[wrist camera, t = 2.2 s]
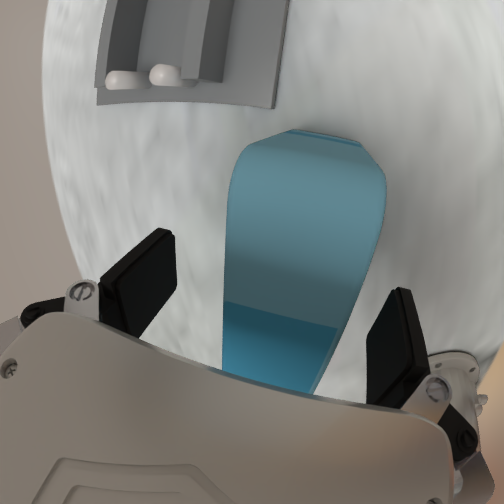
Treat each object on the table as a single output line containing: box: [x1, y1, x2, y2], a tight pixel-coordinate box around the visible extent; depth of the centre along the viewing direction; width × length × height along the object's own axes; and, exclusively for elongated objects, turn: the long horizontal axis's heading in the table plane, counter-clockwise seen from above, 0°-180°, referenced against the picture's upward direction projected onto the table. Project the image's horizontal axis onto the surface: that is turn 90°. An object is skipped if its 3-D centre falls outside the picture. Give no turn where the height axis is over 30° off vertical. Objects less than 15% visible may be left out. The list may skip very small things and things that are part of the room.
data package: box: [222, 129, 386, 394], centre depth 15 cm, size 12×4×12 cm, turn 175°
